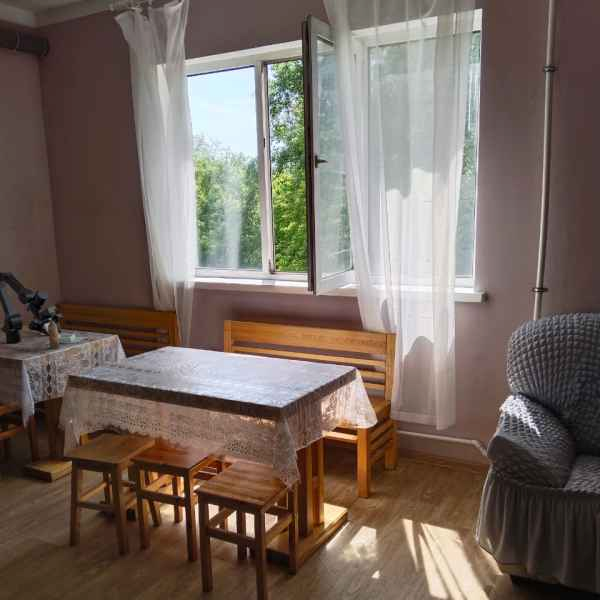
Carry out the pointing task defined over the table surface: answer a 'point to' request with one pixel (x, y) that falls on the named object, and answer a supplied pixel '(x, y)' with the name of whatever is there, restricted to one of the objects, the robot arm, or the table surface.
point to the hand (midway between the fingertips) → (55, 334)
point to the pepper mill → (53, 335)
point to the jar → (48, 323)
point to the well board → (68, 338)
